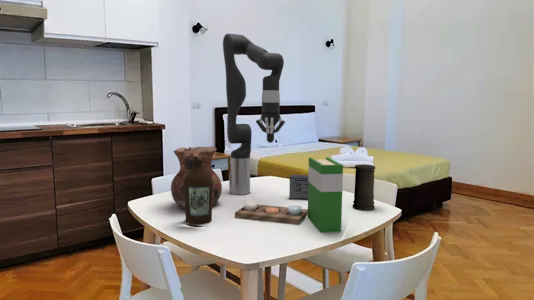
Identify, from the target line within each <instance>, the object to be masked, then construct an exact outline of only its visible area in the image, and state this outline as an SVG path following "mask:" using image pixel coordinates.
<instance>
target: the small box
mask: <svg viewBox="0 0 534 300" xmlns="http://www.w3.org/2000/svg"><path fill="white" fill-rule="evenodd" d="M288 200H295V201H296V200H301V201H308V174H306V175H305V174H290V175H289V198H288Z"/></svg>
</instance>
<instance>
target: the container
mask: <svg viewBox="0 0 534 300" xmlns="http://www.w3.org/2000/svg"><path fill="white" fill-rule="evenodd" d="M354 169H355V170H354V171H355V175H354V176H355V178H354V194H353V198H354V199H353V204H352V208H353V209H355V210H357V211H364V210H367V211H372V210H373V211H374V210H375V199H374V198H375V195H374V194H375V193H374V192H375V190H374V189H375V172H376V171H375V170H376V166H375V165H372V164H355V165H354Z"/></svg>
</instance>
